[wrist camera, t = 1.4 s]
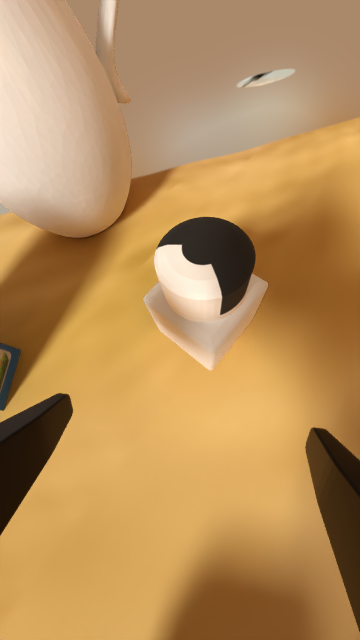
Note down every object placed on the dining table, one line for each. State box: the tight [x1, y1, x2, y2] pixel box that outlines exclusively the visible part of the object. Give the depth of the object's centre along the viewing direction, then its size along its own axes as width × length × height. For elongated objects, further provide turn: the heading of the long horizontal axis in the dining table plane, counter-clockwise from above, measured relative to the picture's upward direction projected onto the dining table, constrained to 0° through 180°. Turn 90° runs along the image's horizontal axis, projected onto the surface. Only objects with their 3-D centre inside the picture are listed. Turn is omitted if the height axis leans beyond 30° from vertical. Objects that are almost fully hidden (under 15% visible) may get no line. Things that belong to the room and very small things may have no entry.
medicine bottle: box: [143, 217, 268, 370], centre depth 18 cm, size 7×7×12 cm
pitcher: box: [0, 0, 131, 238], centre depth 21 cm, size 24×17×28 cm
